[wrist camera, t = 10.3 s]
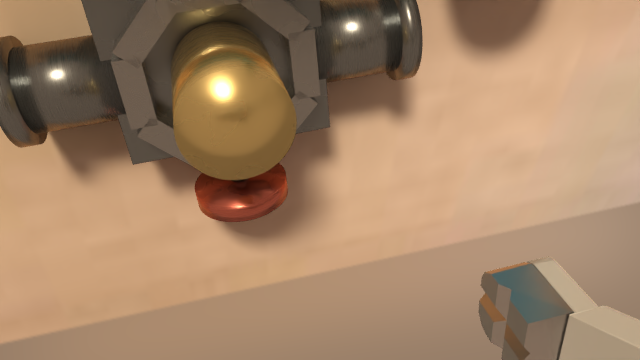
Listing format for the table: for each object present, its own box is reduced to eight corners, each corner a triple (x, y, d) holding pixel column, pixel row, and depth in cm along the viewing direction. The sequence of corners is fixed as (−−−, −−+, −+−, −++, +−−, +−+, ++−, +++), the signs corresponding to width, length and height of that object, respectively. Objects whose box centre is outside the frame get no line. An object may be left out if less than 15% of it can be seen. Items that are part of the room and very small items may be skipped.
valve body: (385, -71, 28) (426, -54, 24) (389, 139, 35) (422, 183, 30) (-17, -17, 25) (-54, 14, 21) (71, 202, 32) (57, 260, 27)
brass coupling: (263, 14, 25) (289, 59, 20) (276, 107, 27) (302, 167, 22) (159, 30, 24) (160, 81, 19) (182, 124, 27) (188, 190, 22)
